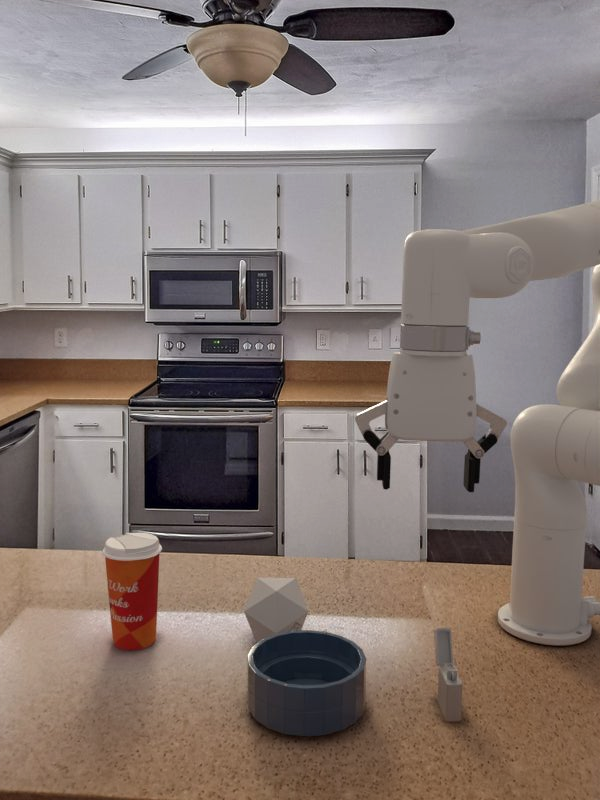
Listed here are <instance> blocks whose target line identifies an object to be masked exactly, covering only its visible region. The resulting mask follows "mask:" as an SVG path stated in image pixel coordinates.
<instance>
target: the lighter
mask: <svg viewBox="0 0 600 800" xmlns="http://www.w3.org/2000/svg"><path fill="white" fill-rule="evenodd" d="M452 637H453V636H452V629H451V628H449V627H443V628H442V627H438V628H437V627H436V628H434V629H433V639H434V640H433V641H434V655H435V665H436V666H438V678H437V679H438V681H437V704H438V706H439V709H440V711H441V713H442V716H443V719H444V721H445V722H461V720H462V708H463V707H462V706H463V682H462V680H461V678H460V676H459V674H458V669H457V667H456V664H455V663H454V653H453V652H454V651H453V640H452V639H453V638H452Z"/></svg>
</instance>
